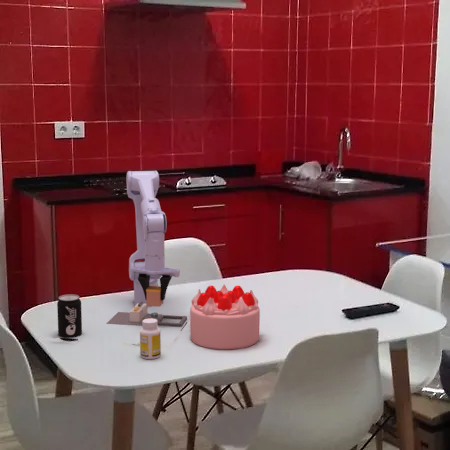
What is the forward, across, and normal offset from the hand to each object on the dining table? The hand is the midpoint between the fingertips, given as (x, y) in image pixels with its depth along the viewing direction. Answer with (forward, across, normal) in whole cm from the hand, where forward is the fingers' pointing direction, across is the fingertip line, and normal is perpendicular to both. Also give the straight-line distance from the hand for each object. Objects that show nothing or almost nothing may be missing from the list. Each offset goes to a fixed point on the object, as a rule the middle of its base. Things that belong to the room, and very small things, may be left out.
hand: (155, 299), depth 224 cm
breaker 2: (+7, -6, +2) cm, 10 cm away
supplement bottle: (+9, +5, -24) cm, 27 cm away
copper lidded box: (+2, 0, 0) cm, 2 cm away
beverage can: (+9, -21, -15) cm, 27 cm away
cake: (+9, +22, -6) cm, 25 cm away
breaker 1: (+7, -6, +7) cm, 12 cm away
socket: (+8, +4, +2) cm, 10 cm away
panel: (+8, -7, +2) cm, 11 cm away
